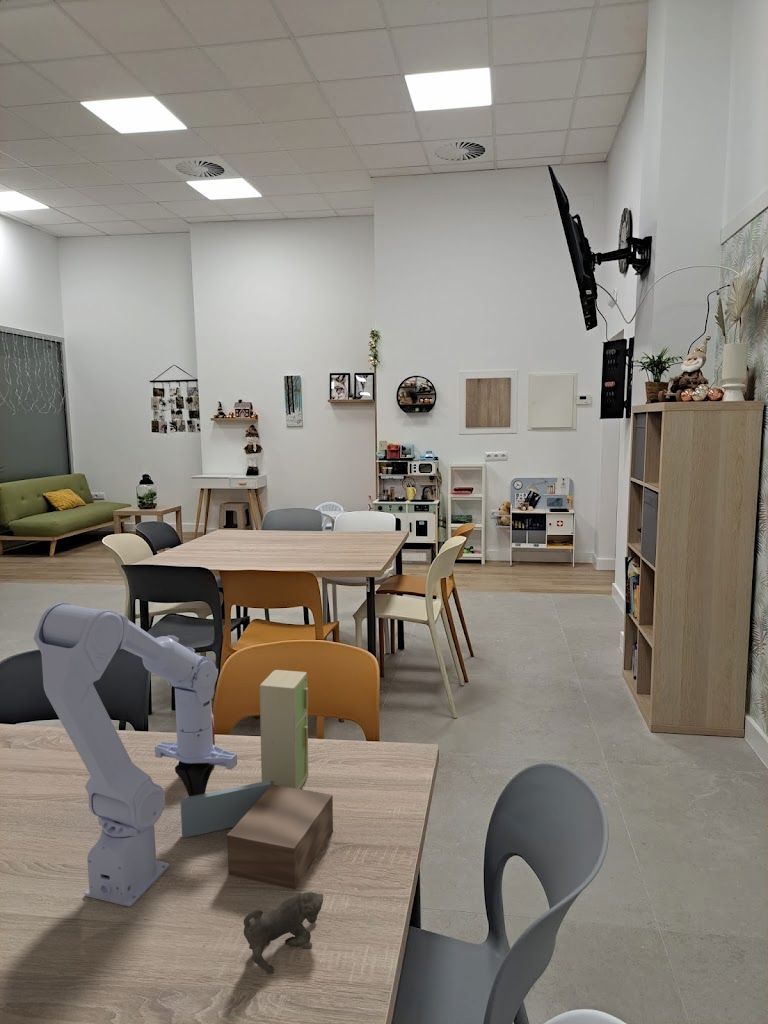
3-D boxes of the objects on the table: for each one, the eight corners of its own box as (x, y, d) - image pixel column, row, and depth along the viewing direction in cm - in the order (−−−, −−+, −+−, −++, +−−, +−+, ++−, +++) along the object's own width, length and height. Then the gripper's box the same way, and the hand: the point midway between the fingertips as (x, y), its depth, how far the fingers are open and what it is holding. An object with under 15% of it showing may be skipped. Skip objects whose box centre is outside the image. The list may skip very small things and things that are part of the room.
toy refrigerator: (299, 798, 125) (297, 688, 122) (261, 794, 126) (258, 684, 123) (312, 776, 133) (311, 671, 130) (276, 772, 134) (273, 669, 131)
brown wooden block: (295, 889, 101) (294, 848, 100) (228, 874, 104) (227, 834, 103) (333, 831, 115) (332, 794, 114) (273, 819, 118) (272, 784, 117)
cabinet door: (182, 838, 113) (181, 802, 112) (181, 830, 115) (179, 795, 114) (275, 817, 119) (274, 782, 118) (272, 810, 121) (271, 776, 120)
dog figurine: (257, 983, 84) (255, 928, 83) (236, 954, 89) (233, 902, 88) (338, 937, 92) (337, 886, 91) (315, 913, 96) (314, 864, 95)
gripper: (245, 720, 116) (247, 795, 118) (170, 709, 120) (174, 782, 122) (223, 739, 109) (226, 818, 111) (145, 727, 114) (149, 803, 116)
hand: (197, 801), depth 116 cm, fingers closed
